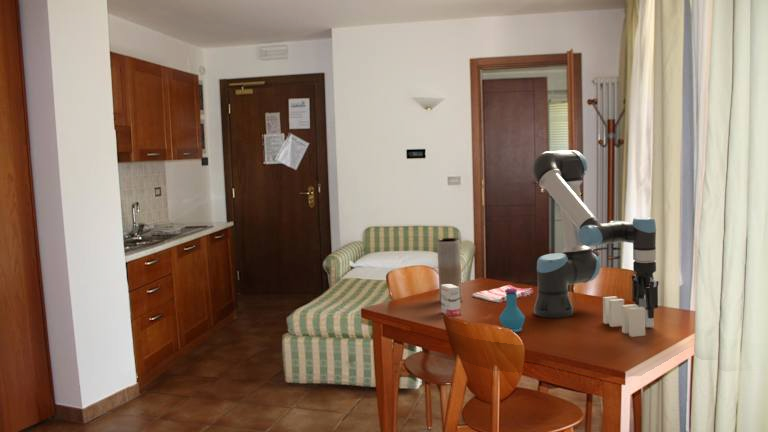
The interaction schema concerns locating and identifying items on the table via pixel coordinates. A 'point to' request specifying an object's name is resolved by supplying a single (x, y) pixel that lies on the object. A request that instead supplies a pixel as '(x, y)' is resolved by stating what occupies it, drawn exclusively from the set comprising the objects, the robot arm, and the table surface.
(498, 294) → the dish towel
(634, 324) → the domino tail
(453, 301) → the ink box
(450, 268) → the vase
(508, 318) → the perfume bottle
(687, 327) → the table surface
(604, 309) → the domino head
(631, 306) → the domino
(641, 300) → the domino
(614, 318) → the domino
